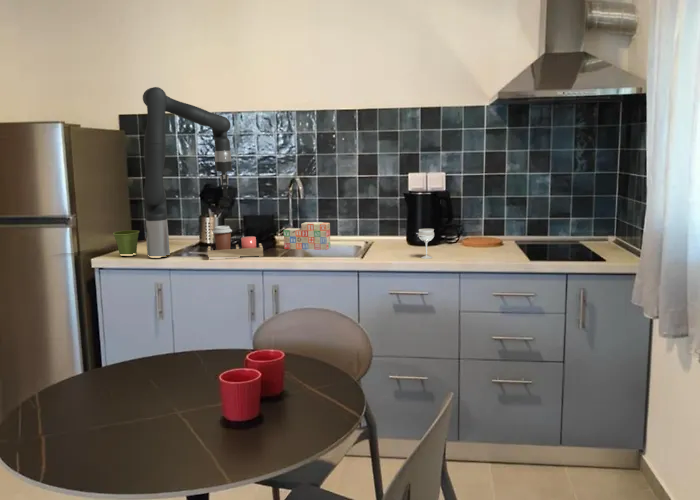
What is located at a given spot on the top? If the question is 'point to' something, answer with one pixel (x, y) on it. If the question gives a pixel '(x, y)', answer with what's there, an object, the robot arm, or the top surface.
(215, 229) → the coffee cup
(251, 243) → the red rounded block
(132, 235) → the plant pot
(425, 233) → the wineglass
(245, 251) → the oak rack
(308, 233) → the stack of blocks
